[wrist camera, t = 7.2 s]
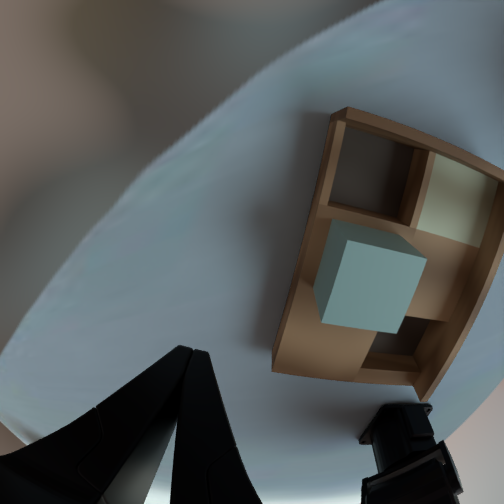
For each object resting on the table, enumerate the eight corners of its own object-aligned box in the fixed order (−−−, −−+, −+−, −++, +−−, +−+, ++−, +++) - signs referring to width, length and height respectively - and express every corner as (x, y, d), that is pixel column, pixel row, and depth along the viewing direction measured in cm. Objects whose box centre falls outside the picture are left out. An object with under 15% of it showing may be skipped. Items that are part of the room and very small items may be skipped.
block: (377, 299, 19) (396, 333, 15) (312, 287, 19) (321, 322, 15) (399, 235, 18) (427, 258, 14) (332, 218, 17) (347, 240, 14)
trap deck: (410, 367, 24) (426, 401, 20) (272, 351, 24) (271, 390, 20) (486, 171, 18) (523, 181, 14) (331, 113, 18) (348, 106, 13)
